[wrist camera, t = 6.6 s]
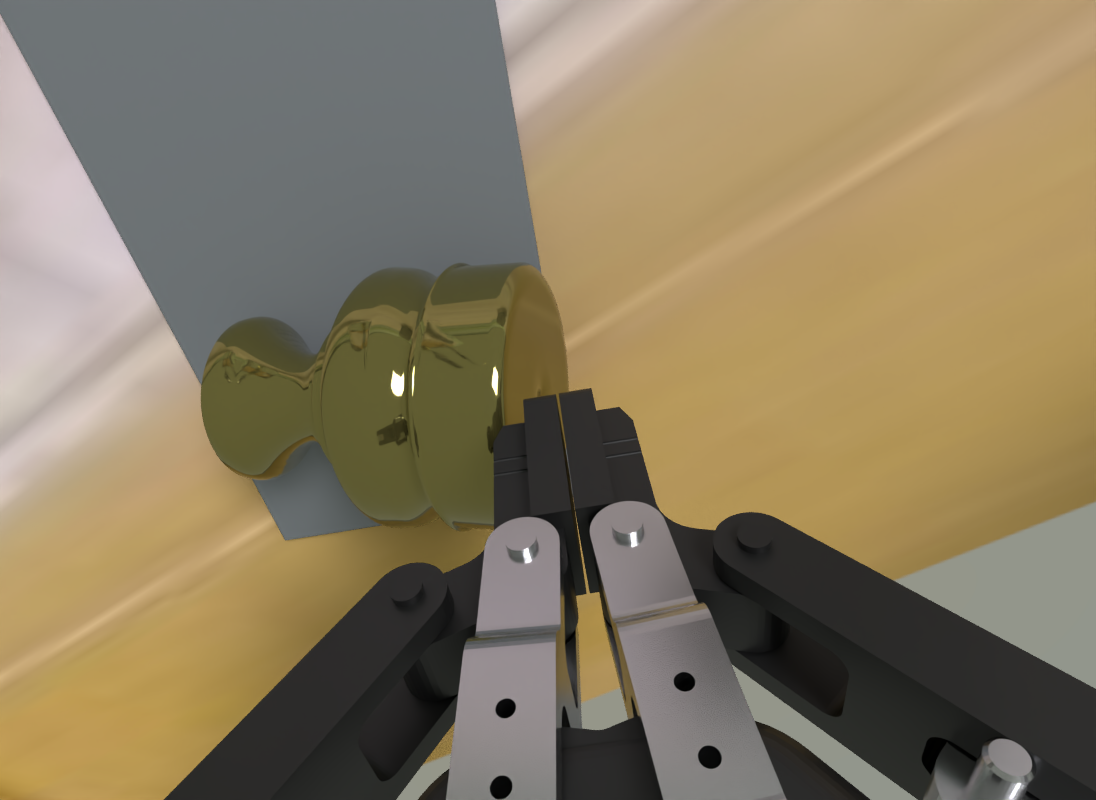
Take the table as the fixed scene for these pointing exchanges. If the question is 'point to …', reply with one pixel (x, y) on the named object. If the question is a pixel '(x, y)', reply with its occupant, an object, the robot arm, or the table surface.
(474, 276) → the brass door knob
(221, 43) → the mat
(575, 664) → the robot arm
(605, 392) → the table surface
